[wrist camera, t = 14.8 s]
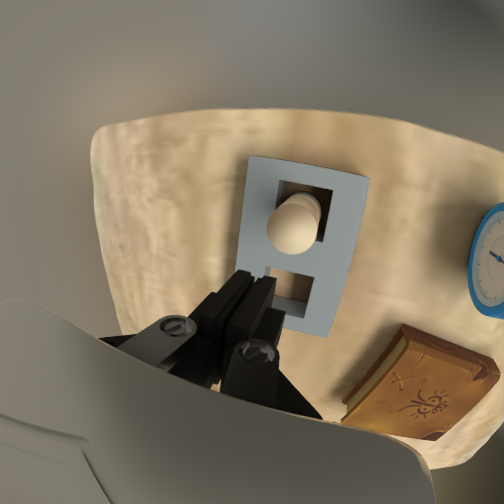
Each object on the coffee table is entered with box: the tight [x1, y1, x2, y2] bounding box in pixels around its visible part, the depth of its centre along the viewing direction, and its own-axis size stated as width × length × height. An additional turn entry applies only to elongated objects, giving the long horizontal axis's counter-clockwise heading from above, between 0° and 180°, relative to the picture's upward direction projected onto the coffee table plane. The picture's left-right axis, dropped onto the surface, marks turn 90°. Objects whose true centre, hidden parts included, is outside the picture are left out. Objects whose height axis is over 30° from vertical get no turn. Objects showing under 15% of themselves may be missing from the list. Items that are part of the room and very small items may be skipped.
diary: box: [341, 325, 500, 441], centre depth 33 cm, size 23×19×6 cm
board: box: [235, 156, 370, 338], centre depth 32 cm, size 20×13×4 cm, turn 172°
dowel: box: [267, 191, 321, 254], centre depth 27 cm, size 4×4×12 cm
